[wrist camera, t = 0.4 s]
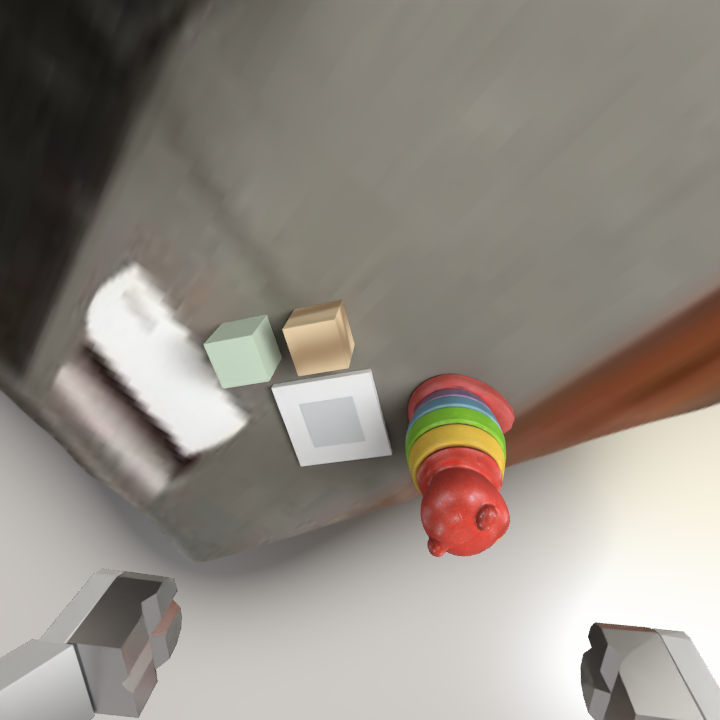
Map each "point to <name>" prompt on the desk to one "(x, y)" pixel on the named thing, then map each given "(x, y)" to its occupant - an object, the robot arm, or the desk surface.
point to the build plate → (333, 417)
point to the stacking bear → (459, 462)
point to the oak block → (319, 338)
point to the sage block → (243, 352)
